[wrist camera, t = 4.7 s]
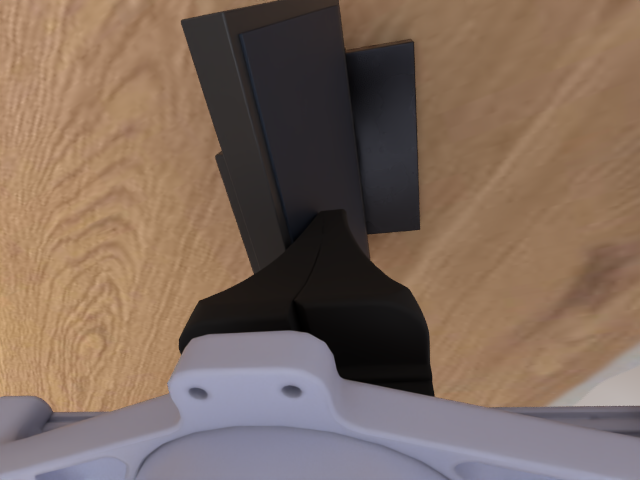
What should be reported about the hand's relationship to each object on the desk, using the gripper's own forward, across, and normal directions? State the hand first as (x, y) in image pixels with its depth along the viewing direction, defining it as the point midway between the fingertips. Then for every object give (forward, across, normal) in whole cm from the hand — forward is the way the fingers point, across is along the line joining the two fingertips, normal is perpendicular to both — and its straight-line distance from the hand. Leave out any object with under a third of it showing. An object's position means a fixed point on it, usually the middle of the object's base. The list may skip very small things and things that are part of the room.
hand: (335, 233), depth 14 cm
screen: (+6, 0, 0) cm, 6 cm away
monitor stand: (+8, 0, 0) cm, 9 cm away
